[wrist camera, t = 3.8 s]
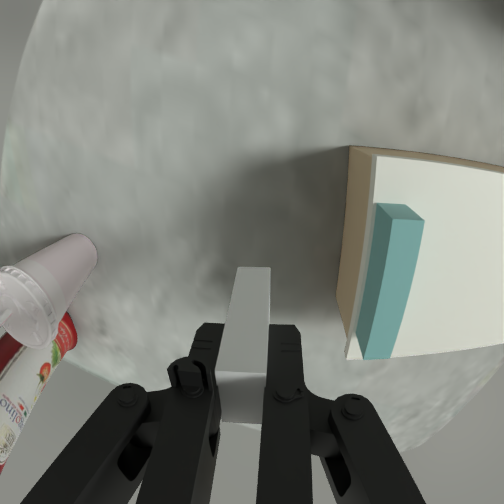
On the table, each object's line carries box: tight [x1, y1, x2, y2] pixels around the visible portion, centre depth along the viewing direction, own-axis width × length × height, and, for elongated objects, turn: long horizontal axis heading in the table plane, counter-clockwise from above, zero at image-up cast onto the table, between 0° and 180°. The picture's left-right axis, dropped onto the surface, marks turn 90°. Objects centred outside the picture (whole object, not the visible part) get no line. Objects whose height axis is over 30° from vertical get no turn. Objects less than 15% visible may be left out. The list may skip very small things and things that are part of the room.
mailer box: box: [336, 145, 504, 337], centre depth 20 cm, size 12×18×6 cm, turn 91°
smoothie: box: [0, 233, 98, 349], centre depth 19 cm, size 6×6×14 cm
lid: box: [344, 154, 504, 360], centre depth 15 cm, size 13×19×3 cm
